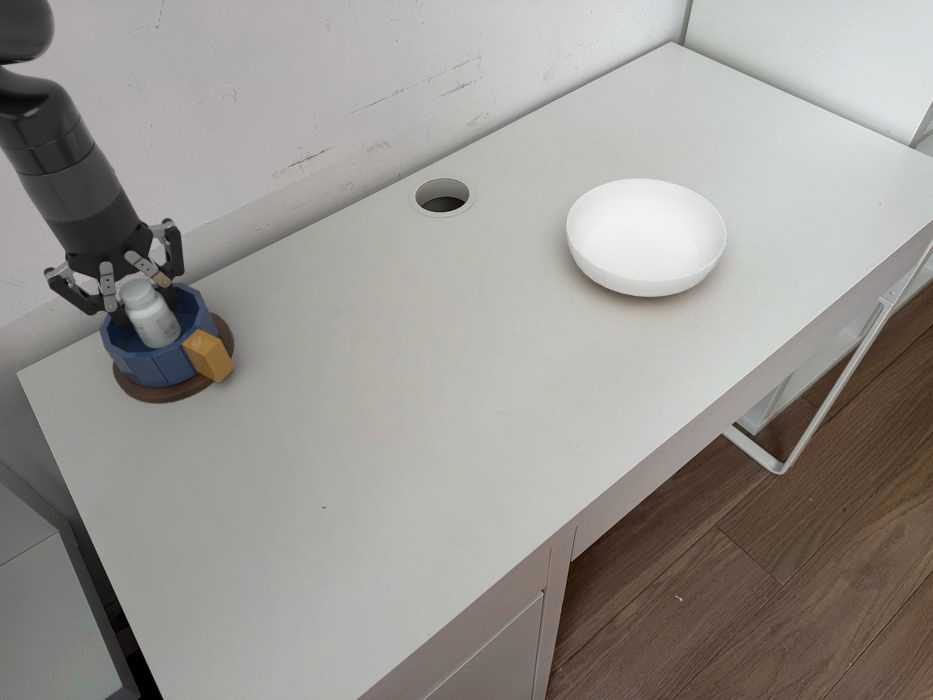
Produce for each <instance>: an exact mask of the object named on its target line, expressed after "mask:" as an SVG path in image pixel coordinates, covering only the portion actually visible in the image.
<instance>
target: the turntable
mask: <svg viewBox="0 0 933 700" xmlns="http://www.w3.org/2000/svg"><path fill="white" fill-rule="evenodd" d="M210 313H211V315H212V317H213V319H214V321H215V323H216V326H217V328H218V330H219V332H220V340H221V341H222V343H223V345H224V347H225V349H226V351H227V353H228V355H229V357H230V359H231V360H232V358H233V354H234V349H235V340H234V336H233V334H232V331H231V329H230V327H229V325H228V324H227V322H226V321H225V320H224V318H222V317H221V316H220V315H218V314H217V313H215V312H213V311H210ZM112 374H113V376H114V379H115V381H116V382H117V384H118V386H119V387H120V388H121V390H122V391H123V392H124V393H125V394H126V395H127V396H129V397H130V398H132V399H135V400H136V401H139V402H143V403H147V404H168V403H174V402H178V401H181V400H184V399H187V398H190V397H192V396H194V395H196V394H198V393H200V392H202V391H203V390H205V389H206V388H208V387H210V385H212V384H213V383H214V382H215V381H214V380H212V379H210V378H208V377H206V376H205V375H203V374H201V373H197V374H196V375H194V376H193V377H191V378H189V379H187V380H185V381H183V382H180V383H177V384H174V385H170V386H165V387H147V386H142V385H139V384H137V383H135V382H133V381H132V380H130V379H129V378H128V377H126V376H124V374H123V373H122V372H121V370H120V369H119V368H118V366H117V365H116V363H115V362H114V361H113V360H112Z"/></svg>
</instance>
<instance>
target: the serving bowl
mask: <svg viewBox="0 0 933 700" xmlns="http://www.w3.org/2000/svg"><path fill="white" fill-rule="evenodd" d="M151 284H152V285H153V287H154V288H155V291H157V292H159V293H161V291H160V289H159V287H158V286H157V284H156V282H155V283H151ZM172 285H173V287H174V289H175V291H176V292H177V294H178V296H179V298H180V304H178V305H176V306H177V308H178V310H176V311H174V312H173V314H174V316H175V317H176V319H177V321H178V323H179V325H180V327H181V332H180V335H179V337H178V338H177V340H176V341H175V342H173V343H172V344H170V345H167V346H165V347H162V348H150V347H148V346H146V345H145V344H144V342H143V341H142V339H141V338H140V336H139V335H138V333H137V331H136V330H133V331H131V332H128V330H127V329H124V330H120V329H119V328H118V327H117V326H116V324H115V323H114V321H113V320H112V318H111V317H110V315H109V314H108V313H107V312H106V315H105V317H104V319H103V321H102V322H101V325H100V328H99V334H100V339H101V341H102V345H103V348H104V350H105V351H106V352H107V354H108V355H109V356H110V358H111V359H112V362H113V361H114V362H115V363H116V365H117V366H118V368H119V369H120V370H121V372H122V373H123V374H124V376H126V377H128V378H129V379H130V380H132V381H133V382H135V383H137V384H139V385H142V386H147V387H165V386H170V385H174V384H177V383H180V382H183V381H185V380H187V379H189V378H191V377H193V376H194V375H196V374H197V373H201V374H203V375H205V376H206V377H208V378H210V379H212V380H214V382H216V383H218V384H220V383H221V382H222V381H223V380H224V379H225V378H226V377H227V376H228V375H229V374H230V373H232V371H233V370H234V369H235V365H234V363H233V360H232V358H231V359H230V357H229V355H228V353H227V351H226V349H225V347H224V345H223V343H222V341H221V340H220V332H219V330H218V328H217V326H216V323H215V321H214V319H213V317H212V315H211V313H210V312H211V310H210V309H209V307H208V304H207V303H206V301H205V299H204V297H203V295H202V293H201V291H200V290H199V289H197V288H194V287H191V286H189V285H187V284H185V283H183V282H179V281H175V282H172ZM161 294H162V293H161ZM118 302H119V304H120V305H121V307H122V308H123V310H124V311H125V304H124V303H123V301H122V299H121V298H120V300H118ZM134 329H135V328H134Z"/></svg>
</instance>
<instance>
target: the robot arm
mask: <svg viewBox="0 0 933 700" xmlns="http://www.w3.org/2000/svg"><path fill="white" fill-rule="evenodd" d="M55 29H56V23H55V16H54V13H53V9H52V7H51V4H50V2H49V0H0V149H1V151H2V153H3V154H4V155H5V157H6V159H7V161H8V162H9V163H10V165H11V166H12V168H13V169H14V171H15V173H16V175H17V177H18V179H19V181H20V183H21V186H22V187H23V189H24V191H25V193H26V194H27V196H28V197H29V199H30V201H31V202H32V204H33V205H34V207H35V208H36V209H37V211H38V212H39V215H41V217H42V219H43V221H45V223H46V224H47V226H48V228H49V229H50V230H51V232H52V234H53V235H54V236H55V238H56V239H57V241H58V243H59V244H60V245H61V247H62V248H63V250H64V252H65V254H64V258H65V261H63V262H62V263H61V264H60V265H58V266H57V267H53V266H50V267H47V268H45V269H44V270H43V275H44V277H45V280H46V282H47V285H48V287H49V289H50V290H52V291H53V292H54V293H56V294H57V295H59V297H61V298H63V299H64V300H66V301H67V302H68V303H70V304H71V305H73V306H74V307H75V308H76V309H78V310H79V311H81V312H82V313H84V314H85V315H87V316H90V317H92V316H95V315H96V314H97V313H98V312H105V313H106V314H107V313H108V314H109V315H110V317H111V318H112V320H113V321H114V323H115V324H116V326H117V327H118V328H119V329H120V330H124V329H127V330H128V332H131V331H133V330H135V329H134V327H133V325H132V324H131V322H130V320H129V319H128V317H127V316H126V314H125V311H124V310H123V308H122V307H121V305H120V304H119V300H118V299H117V289H116V283H117V282H119V281H121V280H123V279H124V278H126V277H127V276H130V275H135V274H138V273H139V272H141V273H142V274H143V275H145V276H146V277H147V278H149V279H152V281H153V282H155V284H157V286H158V287H159V289H160V291H161V293H162V295H163V296H164V298H165V300H166V301H167V303H168V305H169V307H170V309H171V310H172V312H174V311H176V310H178V308H177V306H176V305H178V304H180V298H179V296H178V294H177V292H176V291H175V289H174V287H173V285H172V283H173V281H174V279H175V278H176V277H181V276H183V275H184V274H185V272H186V270H185V259H184V252H183V250H184V249H183V242H182V241H183V240H182V232H181V230H179V228H178V226H177V225H176V223H175V222H174V220H173V219H172V218H170V217H166V218H163V219H162V221H161V223H159V224H153V225H148V223H146V222H144V221H143V220H141V219H140V217H139V216H138V214H137V212H136V210H135V208H134V206H133V204H132V202H131V200H130V199H129V197H128V195H127V193H126V191H125V189H124V187H123V186H122V184H121V181H120V180H119V178H118V175H117V174H116V171H115V169H114V167H113V166H112V165H111V163H110V161H109V159H108V158H107V156H106V154H105V153H104V152H103V150H101V148H100V146H99V145H98V144H97V142H96V141H95V139H94V137H93V135H92V133H91V132H90V129H89V128H88V126H87V124H86V122H85V120H84V119H83V117H82V114H81V112H80V111H79V109H78V107H77V106H76V104H75V102H74V100H73V99H72V97H71V95H70V93H69V92H68V91H67V90H66V88H65V87H64V86H63V85H61V84H60V83H58V82H57V81H55V80H53V79H49V78H45V77H39V76H31V75H26V74H22V73H21V74H20V73H17V72H13V71H11V70H9V69H7V68H6V67H4V66H8V65H17V64H25V63H30V62H34V61H36V60H38V59H40V58H41V57H43V55H45V54H46V53H47V52H48V51H49V49H50V47H51V46H52V43H53V41H54V37H55ZM154 239H157V241H158V242H159V243H160V244H161V245H163V247H164V255H165V256H164V257H165V262H164V263H163V264H162V265H160V264H159V263H158V262H157V261H156V260H154V259H153V257H152V256H151V255H150V252H151V248H152V243H153V240H154ZM74 273H77V274H80V275H84V276H86V277H89V278H92V279H94V280H95V283H96V288H97V294H90V293H89V292H87V291H86V290H85V289H84V288H82V287H81V286H79V285H78V284H77V283H76V278H75V277H74Z"/></svg>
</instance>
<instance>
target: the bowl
mask: <svg viewBox="0 0 933 700" xmlns="http://www.w3.org/2000/svg"><path fill="white" fill-rule="evenodd" d="M565 222H566V224H565V233H566V241H567V245H568V248H569V251H570V253H571V256H572V258H573V260H574V261H575V264H576V265H577V267H578V269H580V270H581V271H582V273H583V274H584V275H585V276H587V277H588V278H589V279H591V280H592V281H594V282H595V283H596V284H598V285H601V286H603V287H604V288H606V289H609V290H611V291H614V292H617V293H620V294H623V295H628V296H634V297H644V298H645V297H647V298H652V297H653V298H654V297H667V296H671V295H675V294H680V293H682V292H684V291H686V290H689V289H691V288H693V287H694V286H696V285H697V284H699V283H701V282H702V281H704V279H705V278H706V277H707V276H708V275H709V273H710V272H712V270H714V268H715V267H716V266H717V264H718V263H719V261H720V259H721V258H722V257H721V256H722V255H723V253H724V250H725V248H726V246H727V241H728V231H727V225H726V223H725V221H724V218H723V216H722V214H721V213H720V212H719V210H718V209H717V208H716V207H715V206H714V205H713V204H712V203H711V202H710V201H709V200H708V199H706V197H704V196H702V195H700V194H699V193H697V192H696V191H693V190H692V189H690V188H687V187H685V186H682V185H680V184H677V183H674V182H670V181H667V180H662V179H661V180H660V179H654V178H640V177H639V178H638V177H636V178H623V179H622V178H621V179H618V180H613V181H608V182H605V183H602V184H600V185H597V186H595V187H593V188H592V189H590V190H587V191H585V193H583V194H582V195H581V196H580V197H579V198H577V199H576V201H575V202H574V203H573V204H572V206H571V207H570V209H569V211H568V213H567V216H566V221H565Z"/></svg>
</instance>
